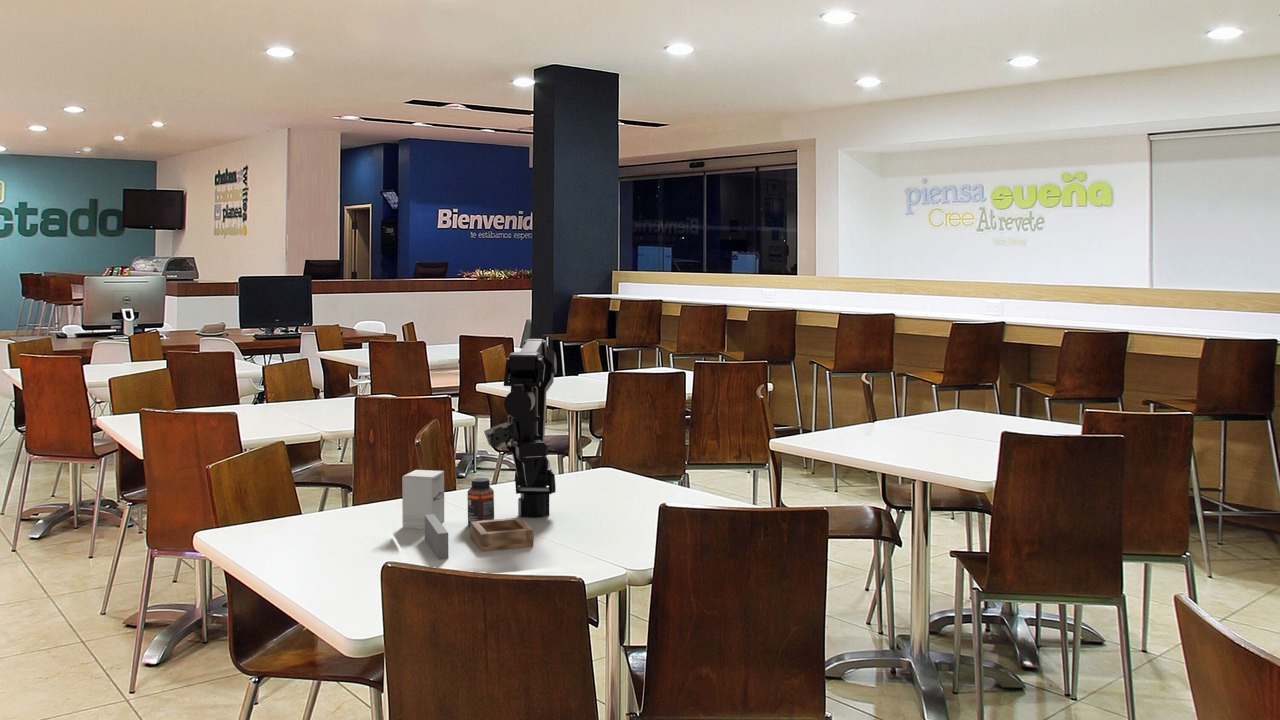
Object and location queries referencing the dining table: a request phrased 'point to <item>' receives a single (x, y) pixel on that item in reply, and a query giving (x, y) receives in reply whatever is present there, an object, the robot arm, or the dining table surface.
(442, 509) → the supplement box
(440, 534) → the backstop
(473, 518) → the supplement bottle
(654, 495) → the dining table surface
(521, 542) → the wooden tray
